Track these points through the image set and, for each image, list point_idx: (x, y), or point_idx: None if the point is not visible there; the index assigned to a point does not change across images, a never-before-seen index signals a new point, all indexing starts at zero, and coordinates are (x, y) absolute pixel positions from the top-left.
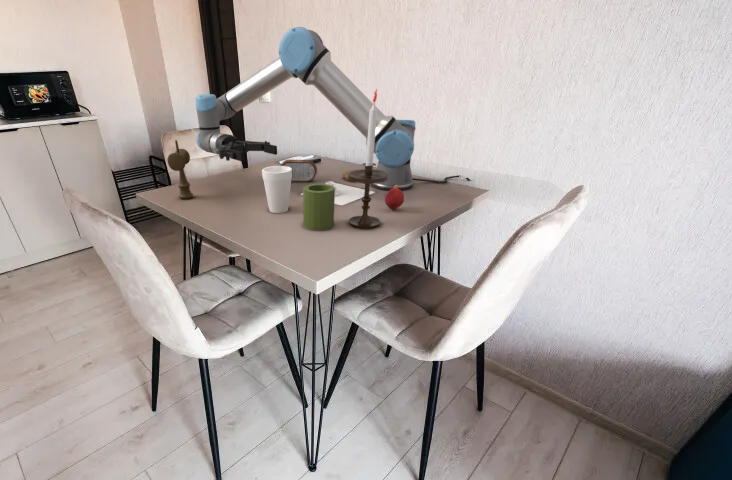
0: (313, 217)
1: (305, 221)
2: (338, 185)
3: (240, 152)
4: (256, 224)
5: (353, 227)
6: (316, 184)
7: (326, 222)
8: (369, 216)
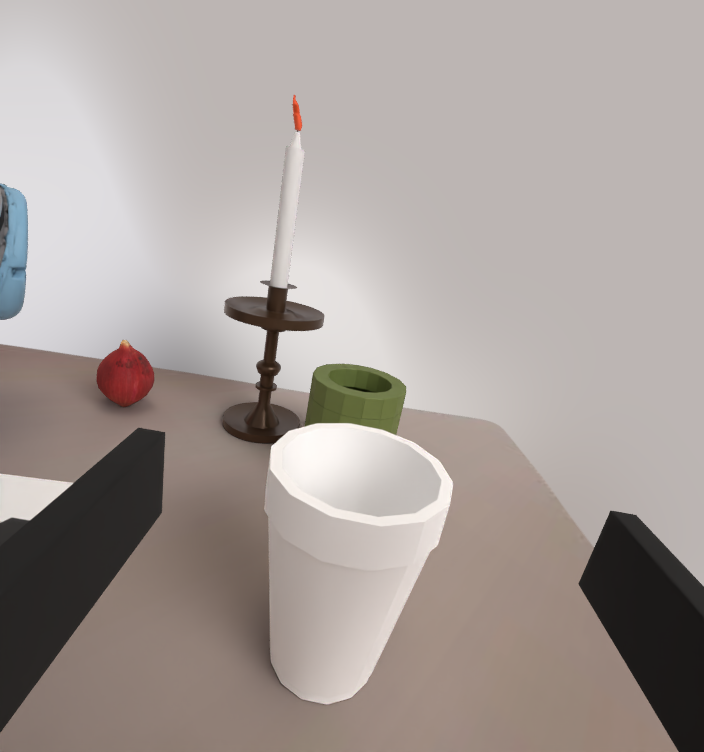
0: None
1: None
2: None
3: (637, 517)
4: (505, 610)
5: None
6: (338, 387)
7: None
8: (224, 417)
